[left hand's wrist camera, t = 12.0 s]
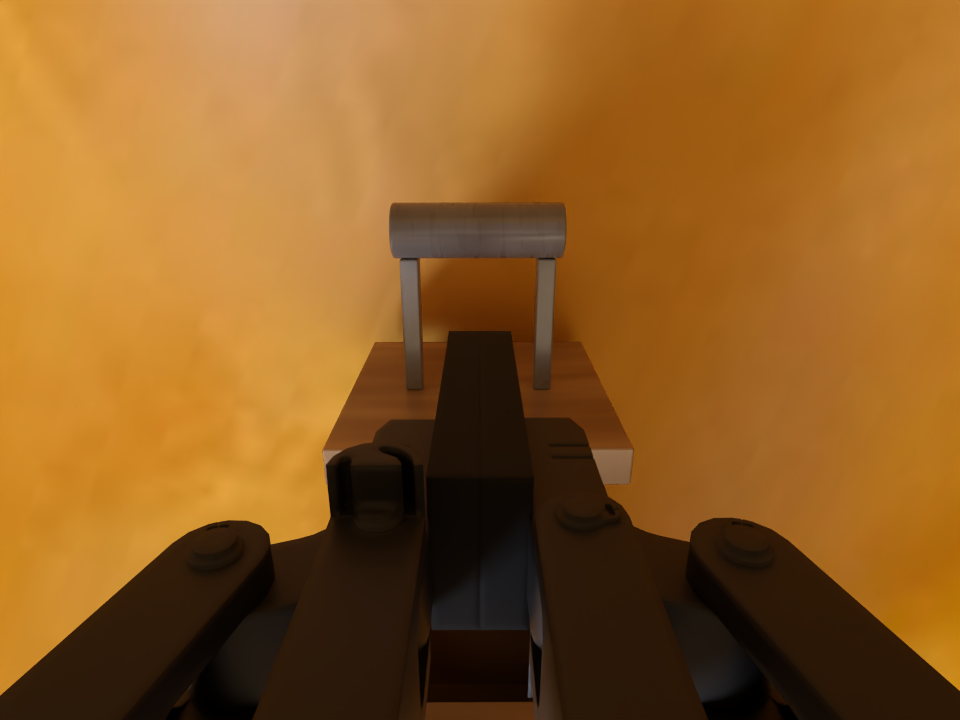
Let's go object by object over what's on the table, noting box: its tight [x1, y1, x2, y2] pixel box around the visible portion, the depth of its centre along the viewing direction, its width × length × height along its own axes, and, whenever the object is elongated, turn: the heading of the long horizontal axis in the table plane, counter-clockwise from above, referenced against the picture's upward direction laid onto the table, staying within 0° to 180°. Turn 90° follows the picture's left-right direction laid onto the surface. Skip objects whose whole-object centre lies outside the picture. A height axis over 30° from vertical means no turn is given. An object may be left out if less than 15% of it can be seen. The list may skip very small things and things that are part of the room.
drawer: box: [323, 203, 634, 702], centre depth 23 cm, size 26×9×9 cm, turn 0°
